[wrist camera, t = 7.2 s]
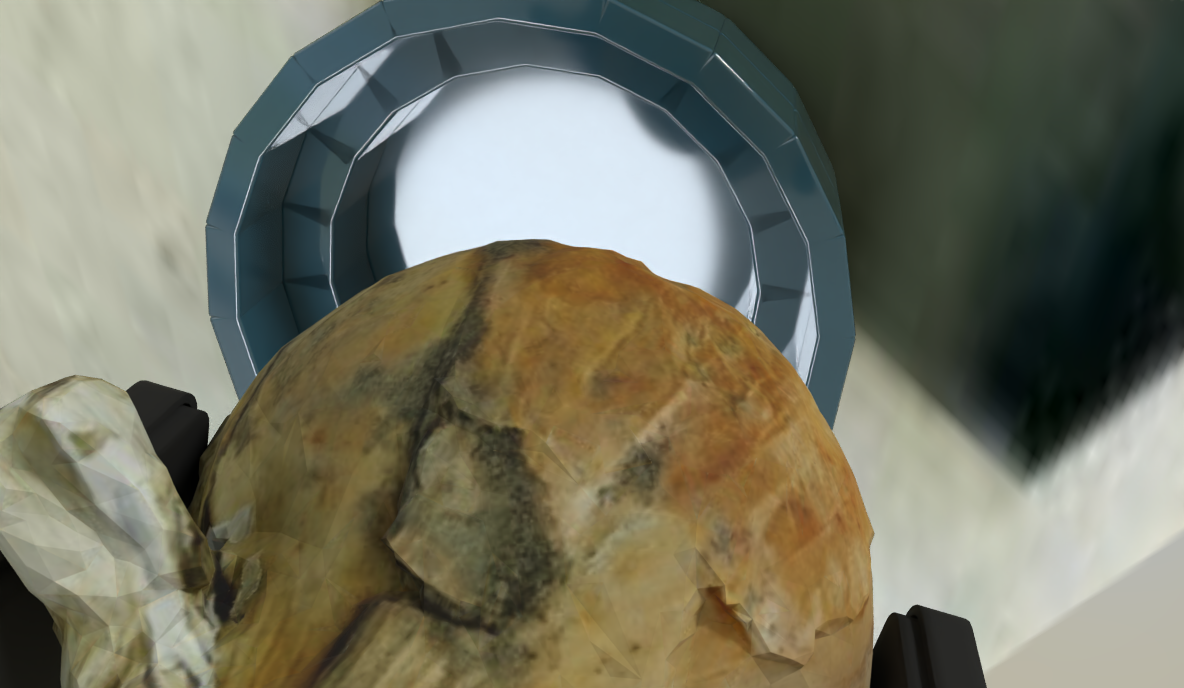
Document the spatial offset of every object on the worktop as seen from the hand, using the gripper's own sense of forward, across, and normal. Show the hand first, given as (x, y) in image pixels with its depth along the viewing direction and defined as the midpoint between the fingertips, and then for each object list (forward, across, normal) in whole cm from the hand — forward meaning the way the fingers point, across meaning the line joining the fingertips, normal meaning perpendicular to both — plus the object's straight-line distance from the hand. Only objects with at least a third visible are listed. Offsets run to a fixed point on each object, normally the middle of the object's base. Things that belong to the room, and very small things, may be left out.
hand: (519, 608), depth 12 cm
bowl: (+18, +2, +3) cm, 18 cm away
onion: (+3, 0, 0) cm, 3 cm away
